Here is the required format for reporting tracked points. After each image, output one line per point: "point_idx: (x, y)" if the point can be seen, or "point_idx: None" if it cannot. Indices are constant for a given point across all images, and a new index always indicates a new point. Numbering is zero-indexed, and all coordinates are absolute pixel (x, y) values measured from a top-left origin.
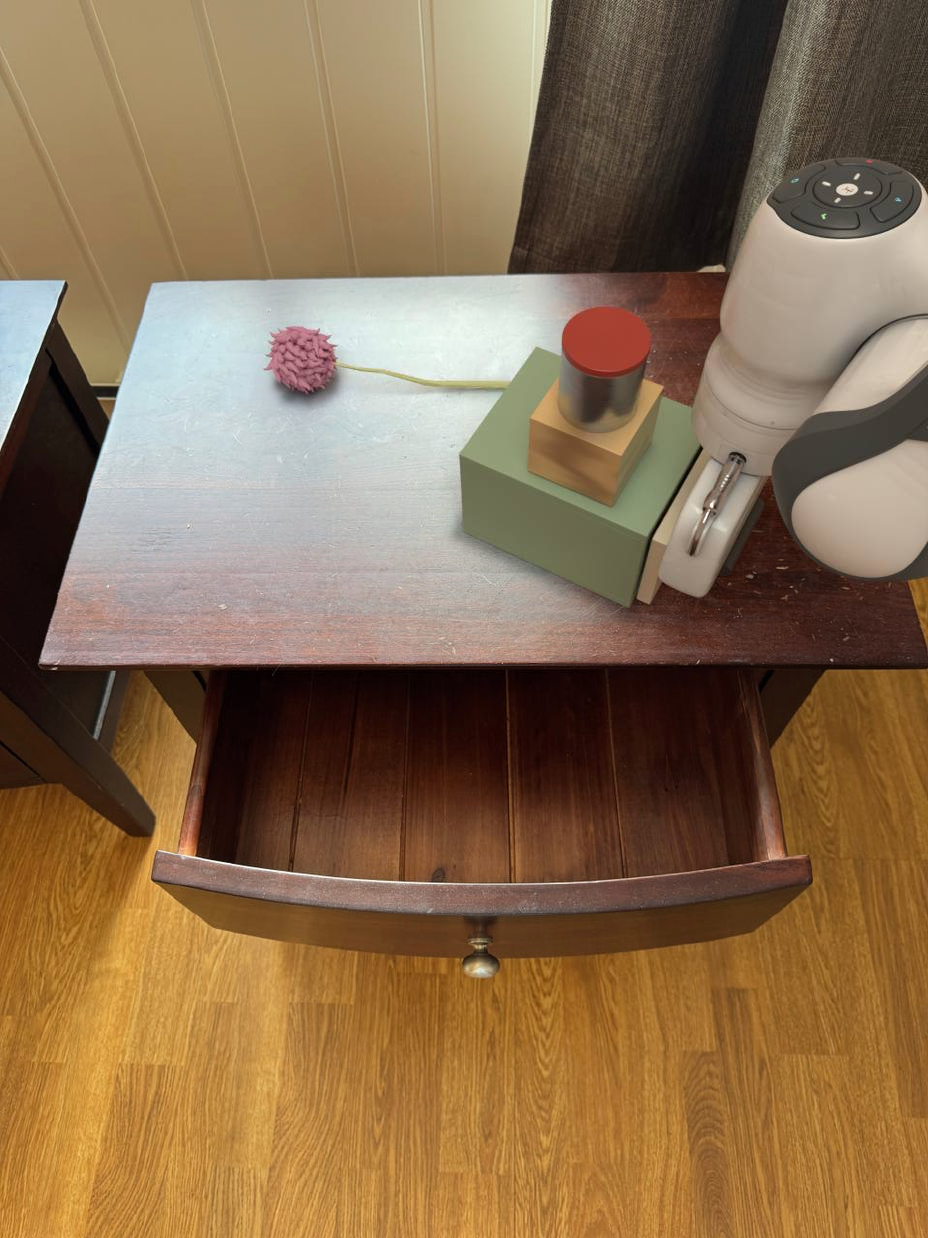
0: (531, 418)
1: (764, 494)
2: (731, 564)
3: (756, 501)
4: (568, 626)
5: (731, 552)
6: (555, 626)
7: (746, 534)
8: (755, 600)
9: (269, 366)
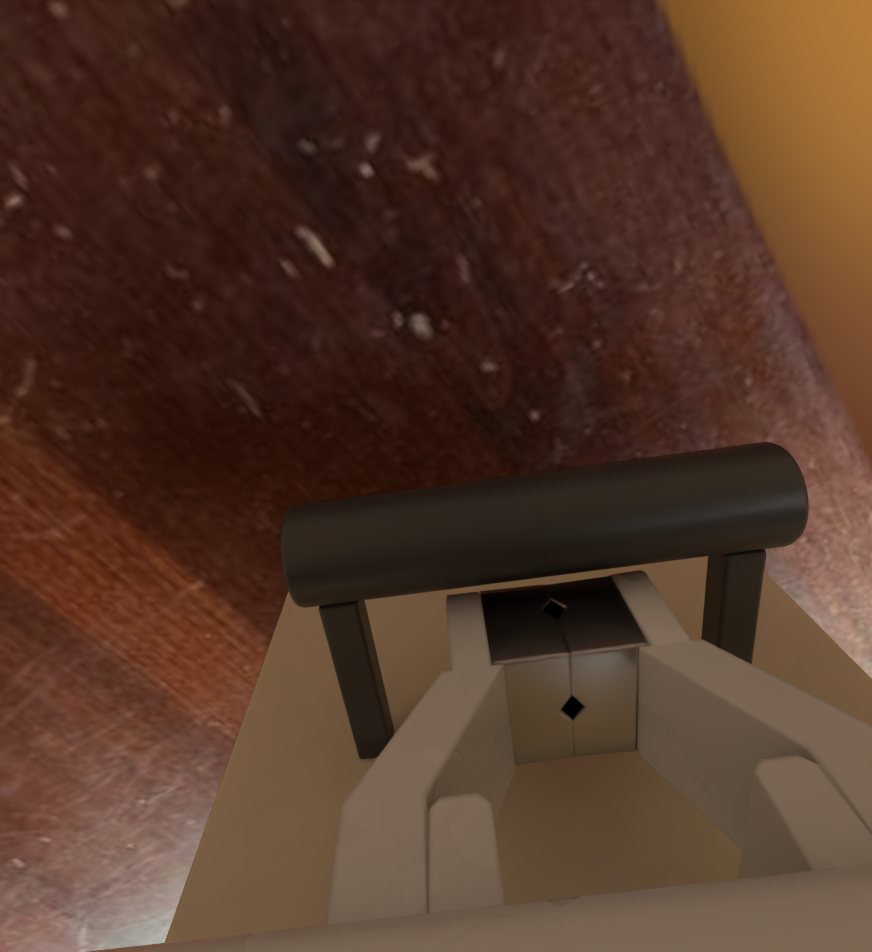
0: None
1: (105, 450)
2: (775, 480)
3: (316, 580)
4: (836, 631)
5: (712, 522)
6: (847, 652)
7: (543, 513)
8: (497, 256)
9: None
